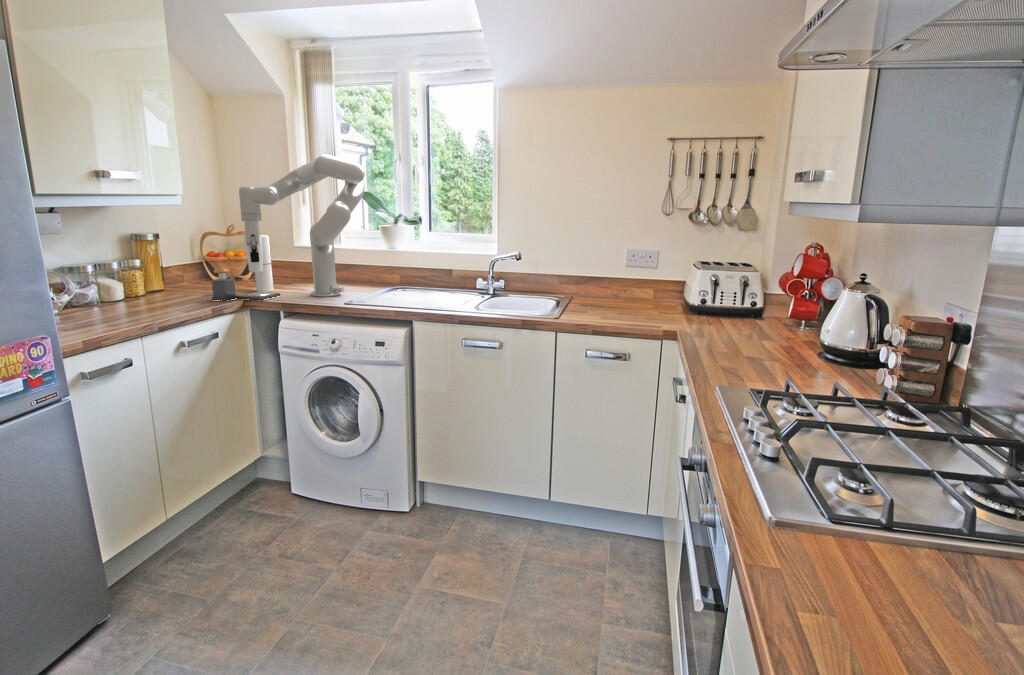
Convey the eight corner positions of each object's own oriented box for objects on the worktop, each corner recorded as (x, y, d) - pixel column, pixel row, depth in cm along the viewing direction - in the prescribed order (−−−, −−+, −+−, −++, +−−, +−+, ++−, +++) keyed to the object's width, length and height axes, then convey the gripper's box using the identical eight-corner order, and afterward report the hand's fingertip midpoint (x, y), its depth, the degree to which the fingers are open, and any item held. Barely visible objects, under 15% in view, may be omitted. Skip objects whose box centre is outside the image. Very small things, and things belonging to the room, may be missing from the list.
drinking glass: (260, 270, 246) (256, 234, 242) (267, 271, 242) (264, 235, 238) (244, 271, 241) (240, 235, 237) (251, 273, 237) (248, 236, 233)
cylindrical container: (269, 292, 258) (264, 236, 252) (253, 292, 258) (248, 236, 252) (276, 290, 265) (271, 235, 259) (260, 289, 265) (255, 235, 259)
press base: (280, 296, 249) (278, 277, 247) (253, 303, 232) (251, 282, 230) (241, 294, 253) (239, 275, 251) (211, 300, 237) (209, 280, 235)
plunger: (235, 288, 240) (233, 269, 238) (224, 290, 235) (222, 270, 233) (223, 287, 242) (220, 268, 240) (212, 290, 236) (210, 270, 234)
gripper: (241, 216, 242) (245, 259, 247) (241, 218, 227) (245, 263, 231) (260, 216, 245) (264, 258, 250) (261, 218, 230) (265, 263, 234)
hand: (255, 260), depth 241 cm, fingers closed on drinking glass, 6 cm apart
